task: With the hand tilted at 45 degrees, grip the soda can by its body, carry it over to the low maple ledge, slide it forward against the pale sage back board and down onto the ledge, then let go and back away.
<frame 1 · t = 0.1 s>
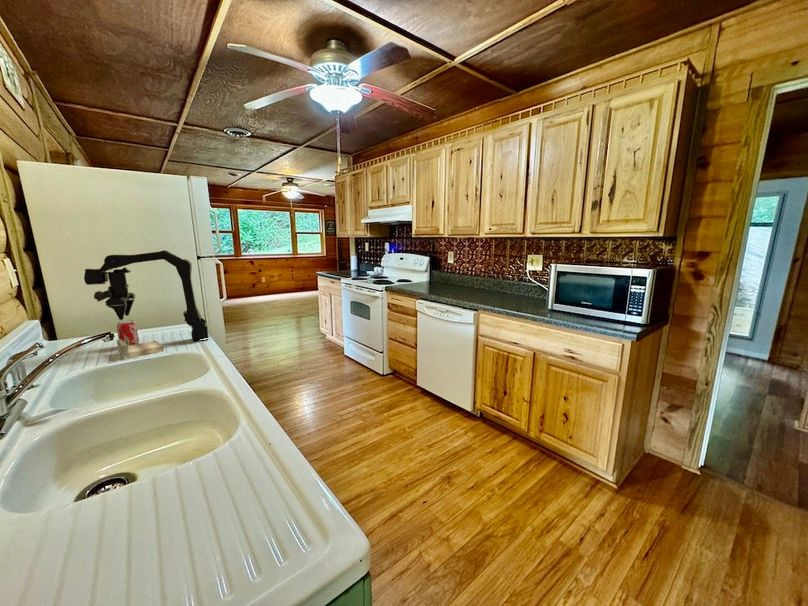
hand: (124, 317, 148), 15 cm above the counter, tool pointing down, fingers open, 9 cm apart
cleat stand: (143, 351, 146), on the counter
soda can: (130, 346, 154), on the counter
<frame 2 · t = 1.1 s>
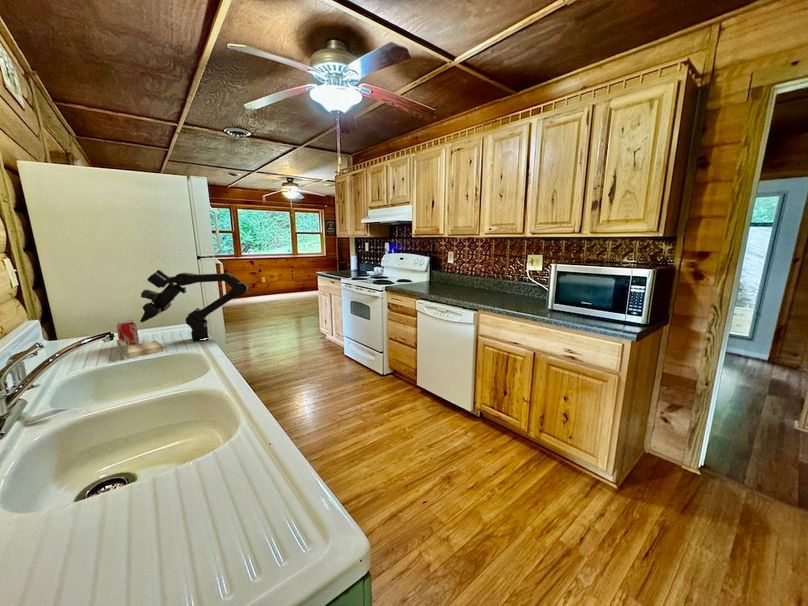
hand: (145, 319, 154), 12 cm above the counter, tool tilted 45°, fingers open, 9 cm apart
nothing on the counter moved.
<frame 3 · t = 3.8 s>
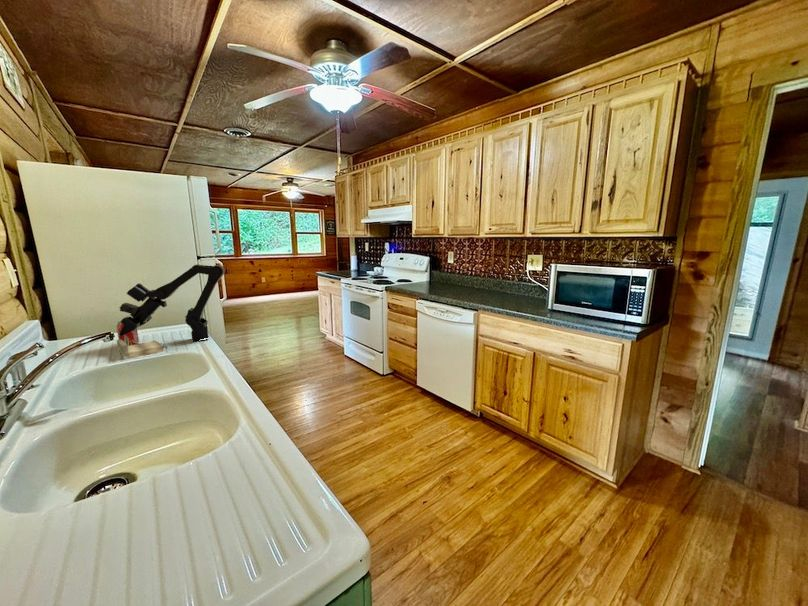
hand: (123, 333, 152), 7 cm above the counter, tool tilted 45°, fingers closed on soda can, 7 cm apart
soda can: (130, 346, 154), on the counter, touching gripper
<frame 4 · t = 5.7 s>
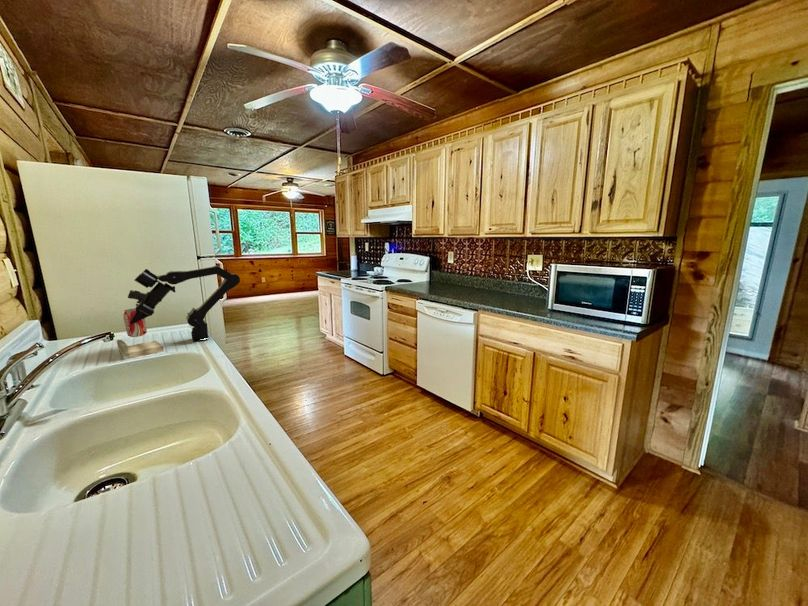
hand: (131, 321, 145), 13 cm above the counter, tool tilted 45°, fingers closed on soda can, 7 cm apart
soda can: (137, 336, 148), point 7 cm above the counter, touching gripper
when the fingers open (10 cm above the counter, at t = 7.8 s): soda can stays where it is, resting on cleat stand.
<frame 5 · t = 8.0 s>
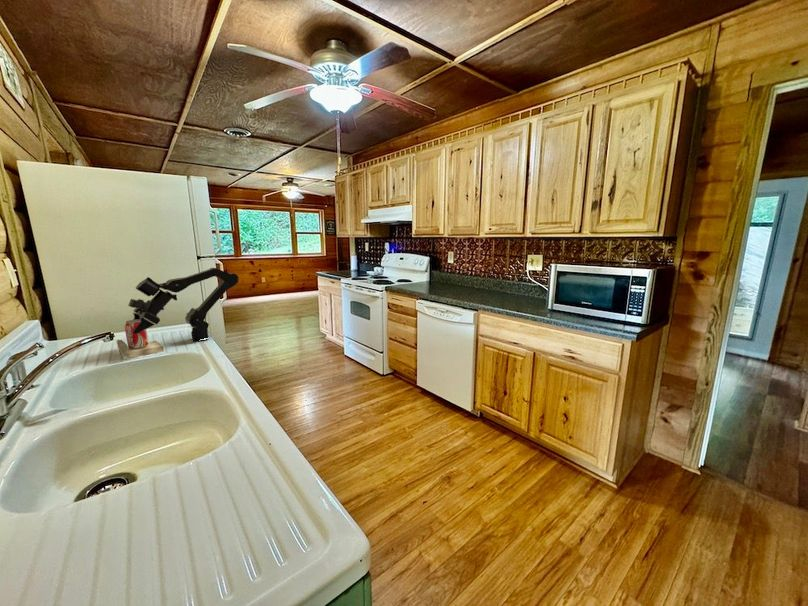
hand: (131, 331, 142), 10 cm above the counter, tool tilted 45°, fingers open, 9 cm apart
soda can: (138, 347, 145), point 2 cm above the counter, touching cleat stand
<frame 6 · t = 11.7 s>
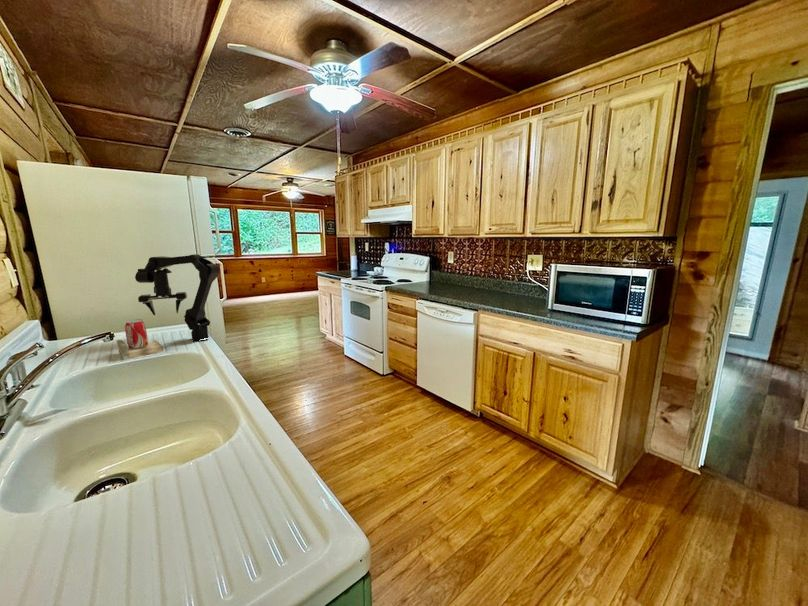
hand: (166, 314, 161), 13 cm above the counter, tool pointing down, fingers open, 9 cm apart
nothing on the counter moved.
at the end: soda can 0.1 cm from the target spot on the cleat stand, point 2.3 cm above the cleat stand's base; soda can tilted 0°; the gripper is holding nothing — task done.
